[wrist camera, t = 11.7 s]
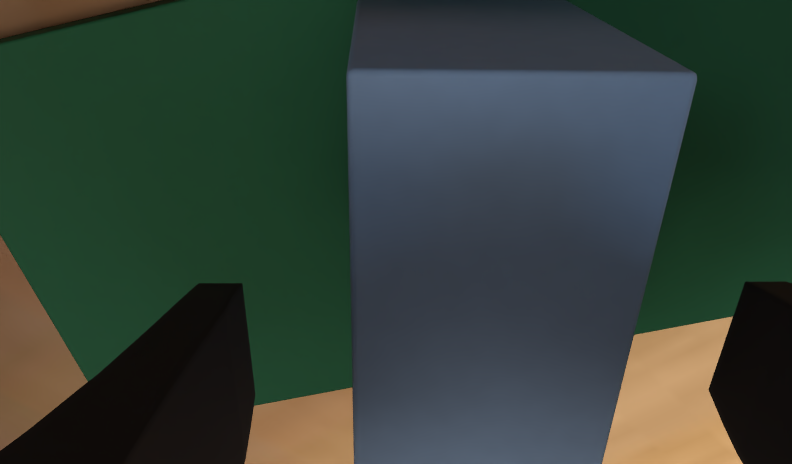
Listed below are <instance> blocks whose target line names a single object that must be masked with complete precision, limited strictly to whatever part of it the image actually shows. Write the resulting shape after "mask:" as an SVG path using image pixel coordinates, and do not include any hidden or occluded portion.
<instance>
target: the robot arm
mask: <svg viewBox="0 0 792 464" xmlns="http://www.w3.org/2000/svg"><path fill="white" fill-rule="evenodd" d="M709 392H710V394H711V396H712V399H713V401H714V404H715V406H716V408H717V411H718V413H719V415H720V418H721V420H722V423H723V425H724V427H725V429H726V431H727V433H728V435H729V438H730V440H731V442H732V444H733V446H734V448H735V450H736V452H737V454H738V456H739V457H740V459H741V461H742V463H743V464H792V283H789V282H787V281H779V282H745V283H744V286H743V289H742V292H741V295H740V298H739V301H738V304H737V307H736V310H735V313H734V316H733V319H732V322H731V325H730V328H729V331H728V334H727V337H726V340H725V343H724V346H723V349H722V351H721V354H720V357H719V360H718V363H717V366H716V369H715V372H714V375H713V378H712V381H711V384H710V387H709ZM254 401H255V386H254V377H253V369H252V360H251V352H250V344H249V335H248V327H247V318H246V310H245V302H244V293H243V285H242V283H198V284H197V285H196V286H195V287H194V288H193V289H191V290H190V291H189V292H188V293H187V294H186V295H185V296H184V297H183V298H181V299H180V300H179V301H178V302H177V303H176V304H175V305H174V306H173V307H172V308H171V309H169V310H168V311H167V312H166V313H165V314H164V315H163V316H162V317H161V318H160V319H159V320H158V321H156V322H155V323H154V324H153V325H152V326H151V327H150V328H149V329H148V330H147V331H146V332H144V333H143V334H142V335H141V336H140V337H139V338H138V339H137V340H136V341H135V342H133V343H132V344H131V345H130V346H129V347H128V348H127V349H126V350H124V351H123V352H122V353H121V354H120V355H119V356H118V357H117V358H115V359H114V360H113V361H112V362H111V363H110V364H109V365H108V366H106V367H105V368H104V369H103V370H102V371H101V372H100V373H98V374H97V375H96V376H95V377H93V378H92V379H91V380H90V381H89V382H87V383H86V384H85V385H84V386H82V387H81V388H80V389H79V390H77V391H76V392H75V393H74V394H72V395H71V396H70V397H69V398H67V399H66V400H65V401H64V402H63V403H61V404H60V405H59V406H58V407H56V408H55V409H54V410H53V411H51V412H50V413H49V414H48V415H46V416H45V417H44V418H43V419H42V420H40V421H39V422H38V423H37V424H35V425H34V426H33V427H32V428H30V429H29V430H28V431H26V432H25V433H24V434H22V435H21V436H20V437H18V438H17V439H16V440H14V441H13V442H12V443H10V444H9V445H8V446H6V447H5V448H4V449H2V450H1V451H0V464H244V463H245V459H246V452H247V446H248V440H249V434H250V428H251V421H252V414H253V407H254Z"/></svg>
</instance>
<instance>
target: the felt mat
mask: <svg viewBox="0 0 792 464" xmlns="http://www.w3.org/2000/svg"><path fill="white" fill-rule="evenodd" d="M357 1H358V0H161V1H157V2H153V3H149V4H145V5H141V6H136V7H132V8H128V9H124V10H120V11H115V12H111V13H107V14H103V15H99V16H94V17H90V18H86V19H82V20H78V21H73V22H69V23H65V24H61V25H57V26H53V27H48V28H44V29H40V30H36V31H32V32H27V33H23V34H19V35H15V36H11V37H6V38H2V39H0V235H1V237H2V238H3V240H4V242H5V243H6V245H7V247H8V248H9V250H10V252H11V253H12V255H13V257H14V258H15V260H16V262H17V263H18V265H19V267H20V268H21V270H22V272H23V273H24V275H25V277H26V279H27V280H28V282H29V284H30V285H31V287H32V289H33V290H34V292H35V294H36V295H37V297H38V299H39V300H40V302H41V304H42V305H43V307H44V309H45V310H46V312H47V314H48V315H49V317H50V319H51V320H52V322H53V324H54V325H55V327H56V329H57V330H58V332H59V334H60V336H61V337H62V339H63V341H64V342H65V344H66V346H67V347H68V349H69V351H70V352H71V354H72V356H73V357H74V359H75V361H76V362H77V364H78V366H79V367H80V369H81V371H82V372H83V374H84V376H85V377H86V379H87V381H88V382H89V381H90V380H91V379H92V378H93V377H95V376H96V375H97V374H98V373H100V372H101V371H102V370H103V369H104V368H105V367H106V366H108V365H109V364H110V363H111V362H112V361H113V360H114V359H115V358H117V357H118V356H119V355H120V354H121V353H122V352H123V351H124V350H126V349H127V348H128V347H129V346H130V345H131V344H132V343H133V342H135V341H136V340H137V339H138V338H139V337H140V336H141V335H142V334H143V333H144V332H146V331H147V330H148V329H149V328H150V327H151V326H152V325H153V324H154V323H155V322H156V321H158V320H159V319H160V318H161V317H162V316H163V315H164V314H165V313H166V312H167V311H168V310H169V309H171V308H172V307H173V306H174V305H175V304H176V303H177V302H178V301H179V300H180V299H181V298H183V297H184V296H185V295H186V294H187V293H188V292H189V291H190V290H191V289H193V288H194V287H195V286H196V285H197V284H198V283H242V285H243V293H244V302H245V310H246V318H247V327H248V335H249V344H250V352H251V360H252V369H253V377H254V386H255V401H254V406H255V405H260V404H265V403H271V402H276V401H281V400H287V399H292V398H298V397H303V396H308V395H314V394H319V393H324V392H330V391H335V390H340V389H346V388H351V387H353V384H352V334H351V285H350V236H349V187H348V137H347V88H346V74H347V67H348V60H349V54H350V47H351V40H352V33H353V27H354V20H355V13H356V6H357ZM566 1H568V2H570V3H571V4H573V5H575V6H577V7H579V8H580V9H582V10H584V11H586V12H588V13H589V14H591V15H593V16H595V17H596V18H598V19H600V20H602V21H604V22H605V23H607V24H609V25H611V26H613V27H614V28H616V29H618V30H620V31H621V32H623V33H625V34H627V35H629V36H630V37H632V38H634V39H636V40H638V41H639V42H641V43H643V44H645V45H646V46H648V47H650V48H652V49H654V50H655V51H657V52H659V53H661V54H663V55H664V56H666V57H668V58H670V59H671V60H673V61H675V62H677V63H679V64H680V65H682V66H684V67H686V68H688V69H689V70H691V71H693V72H695V73H696V75H697V83H696V87H695V91H694V95H693V99H692V103H691V107H690V111H689V115H688V119H687V123H686V127H685V131H684V135H683V139H682V143H681V147H680V151H679V155H678V159H677V163H676V167H675V171H674V175H673V179H672V183H671V187H670V191H669V195H668V199H667V203H666V207H665V211H664V215H663V219H662V224H661V228H660V232H659V236H658V240H657V244H656V248H655V252H654V256H653V260H652V264H651V268H650V272H649V276H648V280H647V284H646V288H645V292H644V296H643V300H642V304H641V308H640V312H639V316H638V320H637V324H636V328H635V332H634V335H635V334H640V333H646V332H651V331H657V330H662V329H667V328H673V327H678V326H683V325H689V324H694V323H699V322H705V321H710V320H715V319H721V318H726V317H732V316H734V313H735V310H736V307H737V304H738V301H739V298H740V295H741V292H742V289H743V286H744V283H745V282H779V281H787V282H789V283H792V0H566Z"/></svg>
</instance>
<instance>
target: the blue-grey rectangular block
mask: <svg viewBox="0 0 792 464" xmlns="http://www.w3.org/2000/svg"><path fill="white" fill-rule="evenodd" d="M696 83H697V75H696V73H695V72H693V71H691V70H689V69H688V68H686V67H684V66H682V65H680V64H679V63H677V62H675V61H673V60H671V59H670V58H668V57H666V56H664V55H663V54H661V53H659V52H657V51H655V50H654V49H652V48H650V47H648V46H646V45H645V44H643V43H641V42H639V41H638V40H636V39H634V38H632V37H630V36H629V35H627V34H625V33H623V32H621V31H620V30H618V29H616V28H614V27H613V26H611V25H609V24H607V23H605V22H604V21H602V20H600V19H598V18H596V17H595V16H593V15H591V14H589V13H588V12H586V11H584V10H582V9H580V8H579V7H577V6H575V5H573V4H571V3H570V2H568V1H566V0H358V1H357V6H356V13H355V20H354V27H353V33H352V40H351V47H350V54H349V60H348V67H347V74H346V88H347V137H348V187H349V236H350V285H351V334H352V384H353V433H354V464H602V461H603V457H604V452H605V448H606V444H607V440H608V436H609V432H610V428H611V424H612V420H613V416H614V412H615V408H616V404H617V400H618V396H619V392H620V388H621V384H622V380H623V376H624V372H625V368H626V364H627V360H628V356H629V352H630V348H631V344H632V340H633V336H634V332H635V328H636V324H637V320H638V316H639V312H640V308H641V304H642V300H643V296H644V292H645V288H646V284H647V280H648V276H649V272H650V268H651V264H652V260H653V256H654V252H655V248H656V244H657V240H658V236H659V232H660V228H661V224H662V219H663V215H664V211H665V207H666V203H667V199H668V195H669V191H670V187H671V183H672V179H673V175H674V171H675V167H676V163H677V159H678V155H679V151H680V147H681V143H682V139H683V135H684V131H685V127H686V123H687V119H688V115H689V111H690V107H691V103H692V99H693V95H694V91H695V87H696Z"/></svg>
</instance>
